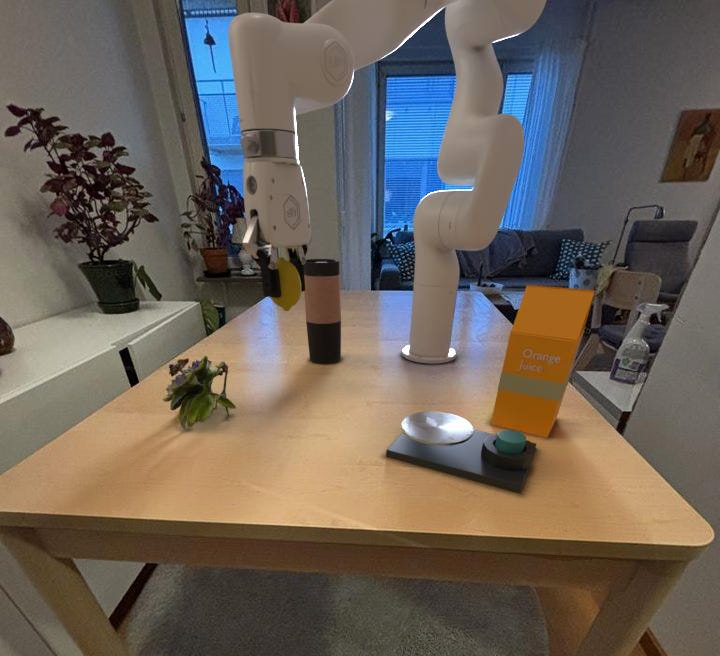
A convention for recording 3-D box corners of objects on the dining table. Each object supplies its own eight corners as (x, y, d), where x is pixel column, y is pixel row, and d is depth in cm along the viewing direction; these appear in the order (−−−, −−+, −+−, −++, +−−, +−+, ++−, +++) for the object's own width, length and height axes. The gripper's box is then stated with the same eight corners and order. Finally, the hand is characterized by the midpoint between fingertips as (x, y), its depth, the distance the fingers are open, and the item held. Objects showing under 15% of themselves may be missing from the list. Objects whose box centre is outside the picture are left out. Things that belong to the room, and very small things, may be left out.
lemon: (296, 315, 64) (291, 259, 59) (264, 314, 65) (257, 258, 60) (307, 308, 68) (303, 255, 64) (277, 307, 69) (272, 255, 65)
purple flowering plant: (197, 438, 70) (194, 372, 71) (252, 433, 68) (249, 364, 68) (149, 429, 59) (146, 351, 60) (213, 422, 57) (209, 340, 57)
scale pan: (416, 408, 61) (417, 406, 61) (481, 422, 57) (481, 420, 57) (389, 435, 54) (390, 432, 54) (461, 453, 50) (461, 450, 50)
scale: (417, 423, 64) (419, 406, 62) (536, 451, 56) (542, 432, 55) (385, 457, 55) (386, 438, 53) (521, 494, 48) (527, 474, 46)
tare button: (498, 439, 54) (500, 427, 53) (525, 445, 53) (528, 433, 52) (492, 450, 51) (494, 438, 50) (520, 457, 50) (524, 445, 49)
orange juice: (547, 438, 60) (592, 294, 48) (489, 424, 63) (518, 288, 52) (556, 419, 65) (598, 286, 54) (503, 407, 69) (532, 281, 58)
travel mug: (302, 361, 89) (294, 261, 78) (318, 352, 95) (313, 258, 84) (333, 366, 87) (329, 263, 76) (347, 356, 93) (345, 259, 81)
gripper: (248, 142, 47) (268, 305, 57) (327, 155, 59) (332, 288, 70) (203, 146, 50) (230, 300, 60) (288, 158, 62) (298, 284, 73)
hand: (285, 292), depth 65 cm, fingers closed on lemon, 5 cm apart
